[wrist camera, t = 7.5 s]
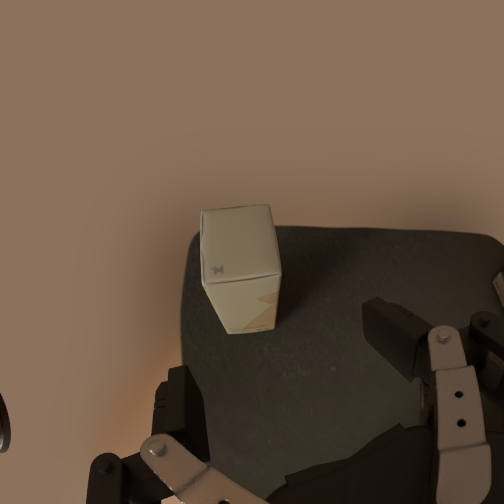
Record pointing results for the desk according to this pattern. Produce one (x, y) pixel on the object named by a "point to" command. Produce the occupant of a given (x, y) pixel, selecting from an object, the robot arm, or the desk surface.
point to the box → (241, 266)
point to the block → (499, 286)
